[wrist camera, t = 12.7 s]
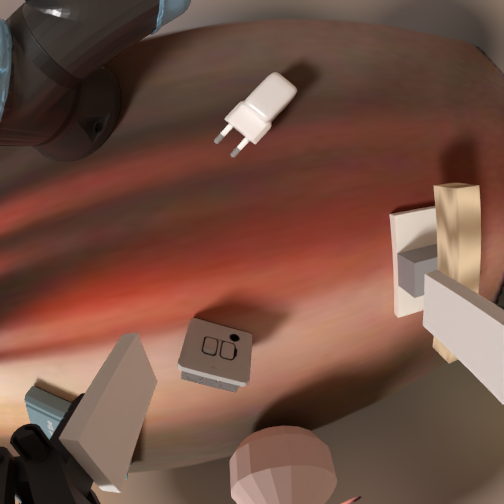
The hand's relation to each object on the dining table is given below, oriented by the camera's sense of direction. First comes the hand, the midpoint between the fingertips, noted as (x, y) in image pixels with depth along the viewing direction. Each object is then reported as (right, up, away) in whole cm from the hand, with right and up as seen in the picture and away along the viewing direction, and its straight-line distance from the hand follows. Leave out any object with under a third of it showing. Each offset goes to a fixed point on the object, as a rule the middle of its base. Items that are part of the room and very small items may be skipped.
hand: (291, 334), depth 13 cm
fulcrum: (+25, +2, +30) cm, 39 cm away
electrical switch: (-6, -10, +32) cm, 34 cm away
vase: (+3, -32, +38) cm, 49 cm away
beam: (+26, +1, +24) cm, 35 cm away
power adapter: (-1, +20, +25) cm, 32 cm away
